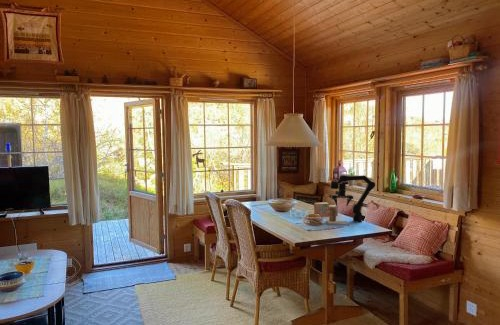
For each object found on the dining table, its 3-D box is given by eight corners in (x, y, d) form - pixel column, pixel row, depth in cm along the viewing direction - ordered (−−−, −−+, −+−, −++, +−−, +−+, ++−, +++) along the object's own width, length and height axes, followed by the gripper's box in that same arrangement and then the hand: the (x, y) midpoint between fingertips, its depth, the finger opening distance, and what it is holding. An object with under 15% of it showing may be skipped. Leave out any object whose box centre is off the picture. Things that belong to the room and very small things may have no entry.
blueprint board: (346, 222, 334) (346, 219, 334) (349, 225, 323) (349, 222, 323) (325, 221, 334) (325, 219, 333) (328, 225, 323) (328, 222, 322)
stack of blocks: (334, 214, 364) (335, 201, 363) (337, 216, 358) (338, 203, 357) (313, 215, 360) (314, 202, 359) (316, 216, 354) (316, 203, 353)
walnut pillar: (333, 221, 332) (333, 207, 331) (335, 222, 328) (336, 208, 327) (329, 221, 331) (329, 207, 330) (331, 222, 327) (332, 208, 326)
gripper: (350, 187, 344) (349, 204, 346) (329, 187, 344) (329, 204, 346) (353, 189, 333) (353, 207, 335) (332, 189, 333) (332, 207, 334)
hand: (341, 206), depth 338 cm, fingers open, 9 cm apart
